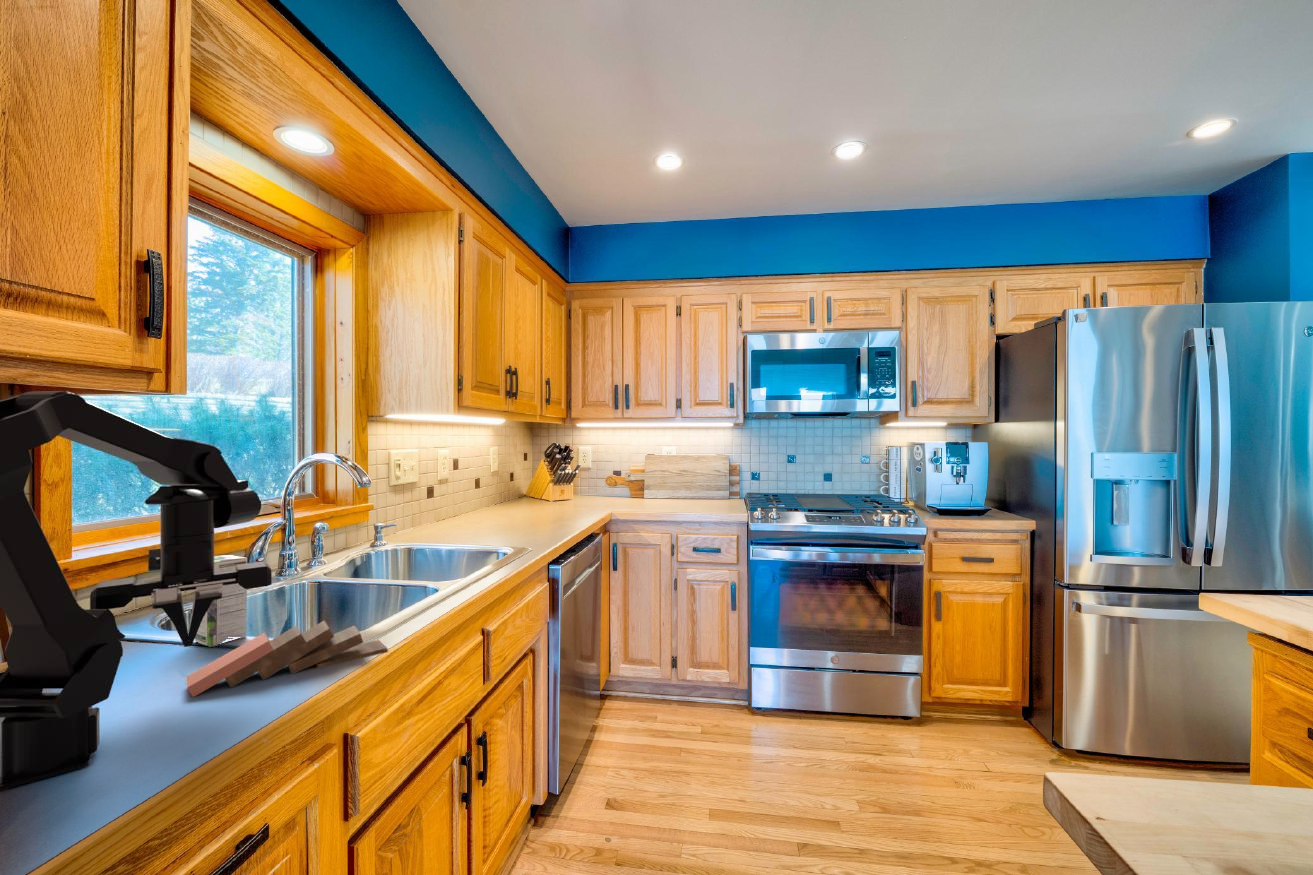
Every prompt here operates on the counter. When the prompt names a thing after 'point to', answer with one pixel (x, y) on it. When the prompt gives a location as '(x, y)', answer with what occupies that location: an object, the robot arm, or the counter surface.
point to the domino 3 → (300, 649)
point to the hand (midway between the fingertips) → (188, 645)
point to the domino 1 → (228, 664)
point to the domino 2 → (270, 655)
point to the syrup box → (225, 608)
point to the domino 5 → (355, 653)
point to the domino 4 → (328, 649)
